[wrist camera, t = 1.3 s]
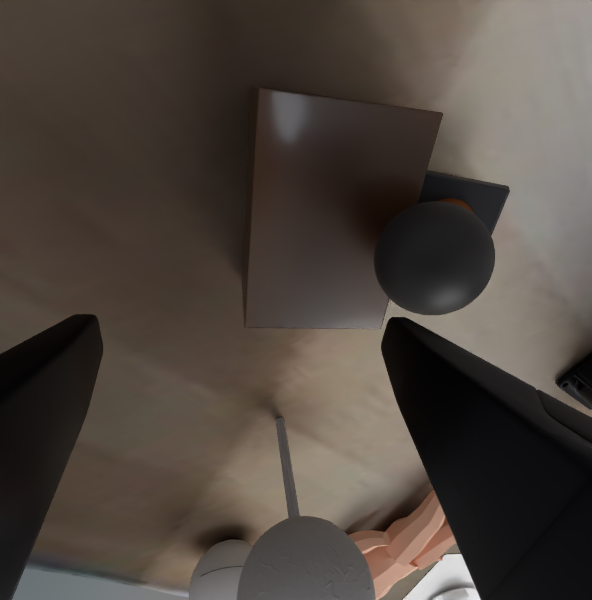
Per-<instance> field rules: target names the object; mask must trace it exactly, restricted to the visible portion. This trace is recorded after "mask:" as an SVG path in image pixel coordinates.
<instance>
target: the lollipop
mask: <svg viewBox="0 0 592 600" xmlns="http://www.w3.org/2000/svg"><path fill="white" fill-rule="evenodd" d="M276 427H277V435H278V442H279V449H280V457H281V464H282V472H283V479H284V486H285V494H286V501H287V509H288V516H289V518H288V519H285V520H283V521H281V522H279V523H278V524H276V525H274V526H273V527H271V528H270V529H269V530H268V531H266V532H265V533H264V534H263V535H262V536H261V537H260V538H259V540H258V541H257V542H256V543H255V545H254V546H253V548H252V549H251V551H250V553H249V555H248V557H247V559H246V561H245V564H244V566H243V569H242V572H241V575H240V580H239V584H238V591H237V600H376V597H375V589H374V583H373V580H372V575H371V572H370V569H369V566H368V563H367V561H366V559H365V557H364V555H363V553H362V552H361V551H360V549H359V548H358V547H357V545H356V544H355V543H354V541H353V540H352V539H351V538H350V537H349V536H348V535H347V534H346V533H345V532H344V531H343V530H342V529H340V528H339V527H337V526H336V525H334V524H333V523H332V522H330V521H328V520H324V519H321V518H317V517H311V516H300V515H299V509H298V503H297V496H296V490H295V484H294V478H293V472H292V465H291V459H290V453H289V447H288V440H287V434H286V428H285V422H284V419H283V418H281V417H280V418H277V419H276Z"/></svg>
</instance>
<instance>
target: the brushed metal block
mask: <svg viewBox="0 0 592 600" xmlns="http://www.w3.org/2000/svg"><path fill="white" fill-rule="evenodd" d="M442 116H443V113H442V112H435V111H428V110H421V109H413V108H406V107H399V106H392V105H385V104H377V103H370V102H363V101H356V100H349V99H341V98H334V97H327V96H320V95H313V94H305V93H298V92H291V91H284V90H277V89H269V88H262V87H255V86H251V99H250V119H249V139H248V160H247V180H246V201H245V221H244V242H243V262H242V294H243V311H244V327H245V328H318V329H381V326H382V323H383V319H384V316H385V312H386V309H387V306H388V302H389V299H390V298H389V297H388V296H387V295H386V294H385V293H384V291H383V290H382V288H381V286H380V285H379V282H378V280H377V277H376V274H375V270H374V252H375V247H376V244H377V241H378V238H379V236H380V234H381V232H382V231H383V229H384V228H385V226H386V225H387V224H388V223H389V222H390V221H391V220H392V219H393V218H394V217H395V216H396V215H397V214H399V213H400V212H402V211H403V210H405V209H407V208H409V207H411V206H414V205H416V204H417V202H418V199H419V195H420V192H421V188H422V185H423V182H424V178H425V175H426V171H427V168H428V164H429V161H430V157H431V154H432V151H433V147H434V144H435V140H436V137H437V133H438V130H439V126H440V123H441V120H442Z"/></svg>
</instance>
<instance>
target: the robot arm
mask: <svg viewBox="0 0 592 600" xmlns="http://www.w3.org/2000/svg"><path fill="white" fill-rule="evenodd" d="M381 351H382V355H383V358H384V361H385V365H386V368H387V371H388V375H389V378H390V382H391V385H392V388H393V392H394V395H395V398H396V401H397V403H398V406H399V409H400V411H401V413H402V416H403V418H404V420H405V423H406V425H407V427H408V430H409V432H410V435H411V437H412V439H413V442H414V444H415V446H416V449H417V451H418V453H419V456H420V458H421V460H422V463H423V465H424V467H425V470H426V472H427V474H428V477H429V479H430V482H431V484H432V486H433V489H434V491H435V493H436V496H437V498H438V500H439V503H440V505H441V507H442V510H443V512H444V514H445V517H446V519H447V522H448V524H449V526H450V529H451V531H452V533H453V536H454V538H455V540H456V543H457V545H458V547H459V550H460V552H461V554H462V557H463V559H464V562H465V564H466V566H467V569H468V571H469V573H470V576H471V578H472V580H473V583H474V585H475V587H476V590H477V592H478V594H479V597H480V599H481V600H592V417H590V416H588V415H586V414H584V413H582V412H580V411H578V410H576V409H574V408H572V407H570V406H568V405H566V404H565V403H563V402H561V401H559V400H557V399H555V398H553V397H551V396H550V395H548V394H546V393H544V392H542V391H540V390H536V388H535V387H533V386H531V385H529V384H527V383H526V382H524V381H522V380H520V379H518V378H516V377H514V376H513V375H511V374H509V373H507V372H505V371H503V370H502V369H500V368H498V367H496V366H494V365H492V364H491V363H489V362H487V361H485V360H483V359H481V358H480V357H478V356H476V355H474V354H472V353H470V352H469V351H467V350H465V349H463V348H461V347H459V346H458V345H456V344H454V343H452V342H450V341H448V340H446V339H445V338H443V337H441V336H439V335H437V334H435V333H434V332H432V331H430V330H428V329H426V328H424V327H423V326H421V325H419V324H417V323H415V322H413V321H412V320H410V319H408V318H405V317H392V318H390V319H389V320H388V323H387V326H386V329H385V333H384V336H383V339H382V343H381ZM102 355H103V342H102V337H101V332H100V327H99V322H98V319H97V317H96V316H95V315H93V314H76V315H73V316H71V317H69V318H67V319H65V320H63V321H61V322H60V323H58V324H56V325H54V326H52V327H50V328H48V329H47V330H45V331H43V332H41V333H39V334H37V335H35V336H33V337H32V338H30V339H28V340H26V341H24V342H22V343H20V344H18V345H17V346H15V347H13V348H11V349H9V350H7V351H5V352H3V353H2V354H0V600H12V598H13V596H14V593H15V591H16V588H17V586H18V583H19V581H20V578H21V576H22V574H23V571H24V569H25V566H26V564H27V561H28V559H29V556H30V554H31V551H32V549H33V546H34V544H35V541H36V539H37V536H38V534H39V531H40V529H41V527H42V524H43V522H44V519H45V517H46V514H47V512H48V509H49V507H50V504H51V502H52V499H53V497H54V494H55V492H56V489H57V487H58V485H59V482H60V480H61V477H62V475H63V472H64V470H65V467H66V465H67V462H68V460H69V457H70V455H71V452H72V450H73V447H74V445H75V442H76V440H77V438H78V435H79V433H80V430H81V428H82V425H83V422H84V420H85V417H86V414H87V411H88V408H89V404H90V400H91V397H92V393H93V389H94V385H95V381H96V378H97V374H98V370H99V366H100V362H101V359H102ZM556 384H557V386H558V387H560V388H561V389H562V390H563V391H565V392H566V393H568V394H569V395H570V396H572V397H573V398H574V399H576V400H577V401H579V402H580V403H581V404H583V405H584V406H586V407H587V408H588V409H590V410H591V409H592V354H591V355H590V356H589V357H587V358H586V359H585V360H583V361H582V362H581V363H580V364H578V365H577V366H576V367H574V368H573V369H572V370H571V371H569V372H568V373H567V374H566V375H564V376H563V377H562V378H560V379H559V380H558V381H557V383H556Z"/></svg>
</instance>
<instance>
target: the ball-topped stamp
mask: <svg viewBox="0 0 592 600" xmlns="http://www.w3.org/2000/svg"><path fill="white" fill-rule="evenodd" d="M509 192H510V190H509V187H508V186H505V185H499V184H494V183H489V182H484V181H479V180H474V179H469V178H463V177H458V176H453V175H448V174H443V173H438V172H433V171H428V170H427V171H426V175H425V178H424V182H423V185H422V188H421V192H420V195H419V199H418V202H417V204H416V205H414V206H411V207H409V208H407V209H405V210H403V211H402V212H400V213H399V214H397V215H396V216H395V217H394V218H393V219H392V220H391V221H390V222H389V223H388V224H387V225H386V226H385V228H384V229H383V231H382V232H381V234H380V236H379V238H378V241H377V244H376V247H375V252H374V270H375V274H376V277H377V280H378V282H379V285H380V286H381V288H382V290H383V291H384V293H385V294H386V295H387V296H388V297H389V298H390V299H391V300H392V301H393V302H394V303H396V304H397V305H398V306H400V307H402V308H404V309H406V310H408V311H411V312H413V313H418V314H422V315H442V314H447V313H450V312H453V311H456V310H459V309H461V308H463V307H465V306H466V305H468V304H469V303H471V302H472V301H473V300H474V299H476V298H477V297H478V296H479V295H480V294H481V292H482V291H483V290H484V288H485V287H486V285H487V284H488V282H489V280H490V278H491V275H492V272H493V269H494V263H495V249H494V244H493V240H492V237H491V235H492V233H493V231H494V228H495V226H496V223H497V221H498V218H499V216H500V214H501V211H502V209H503V206H504V204H505V202H506V199H507V197H508V194H509Z"/></svg>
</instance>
